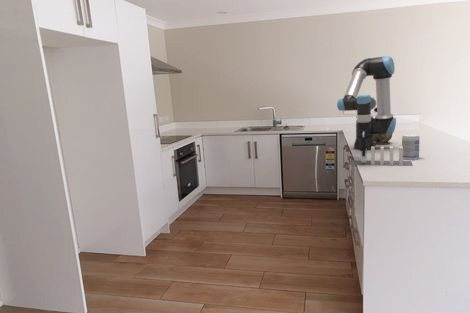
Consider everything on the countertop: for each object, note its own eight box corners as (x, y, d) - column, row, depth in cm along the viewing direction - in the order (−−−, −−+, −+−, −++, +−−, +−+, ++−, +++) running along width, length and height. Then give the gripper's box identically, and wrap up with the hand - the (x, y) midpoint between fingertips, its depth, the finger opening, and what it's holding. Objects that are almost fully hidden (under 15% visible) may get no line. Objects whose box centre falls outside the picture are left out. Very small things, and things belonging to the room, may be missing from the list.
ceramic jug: (366, 143, 275) (366, 105, 269) (382, 141, 279) (383, 103, 273) (381, 146, 259) (381, 106, 253) (398, 144, 263) (399, 104, 257)
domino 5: (398, 163, 203) (399, 146, 201) (402, 163, 202) (402, 146, 200) (399, 165, 198) (399, 147, 196) (402, 165, 197) (403, 147, 195)
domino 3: (380, 162, 206) (380, 146, 205) (383, 163, 206) (383, 146, 204) (380, 164, 202) (380, 148, 200) (383, 164, 201) (383, 148, 199)
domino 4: (389, 163, 205) (389, 146, 203) (392, 163, 204) (393, 146, 202) (389, 165, 200) (389, 148, 198) (393, 165, 199) (393, 147, 197)
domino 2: (371, 162, 208) (371, 146, 207) (374, 162, 208) (374, 146, 206) (371, 164, 204) (371, 148, 202) (374, 164, 203) (374, 148, 201)
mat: (351, 160, 219) (351, 160, 219) (411, 161, 206) (411, 161, 206) (349, 165, 207) (349, 164, 207) (412, 166, 194) (412, 165, 194)
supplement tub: (418, 160, 207) (419, 136, 204) (401, 160, 211) (401, 136, 208) (419, 157, 215) (419, 134, 212) (402, 157, 219) (402, 134, 217)
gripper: (358, 120, 213) (358, 157, 217) (356, 123, 196) (356, 163, 201) (371, 119, 210) (371, 157, 214) (370, 123, 193) (370, 163, 198)
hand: (363, 160), depth 207 cm, fingers closed on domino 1, 5 cm apart
